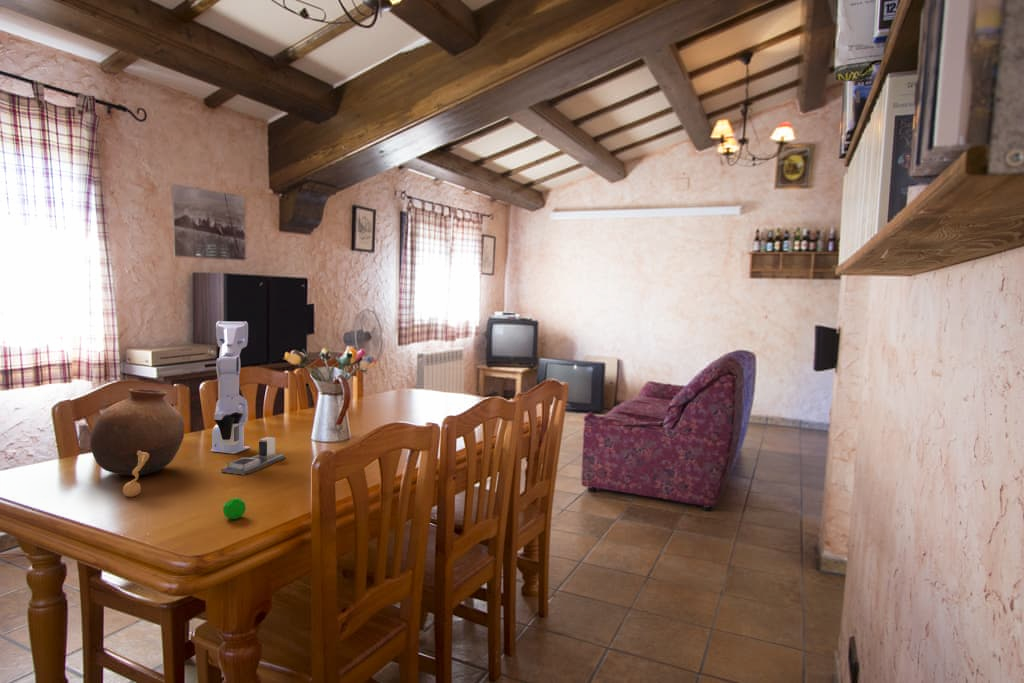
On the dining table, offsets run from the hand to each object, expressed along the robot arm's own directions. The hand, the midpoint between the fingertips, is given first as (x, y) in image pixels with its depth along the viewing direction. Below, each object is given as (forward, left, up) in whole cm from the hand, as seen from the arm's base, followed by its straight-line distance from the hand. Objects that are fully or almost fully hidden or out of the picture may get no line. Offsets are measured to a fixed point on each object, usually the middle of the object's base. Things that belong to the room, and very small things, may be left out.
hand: (228, 438), depth 186 cm
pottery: (-18, -15, -9) cm, 25 cm away
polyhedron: (+31, -36, -9) cm, 49 cm away
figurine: (-3, -31, -9) cm, 33 cm away
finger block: (0, 0, -2) cm, 2 cm away
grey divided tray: (+7, +3, -9) cm, 11 cm away
